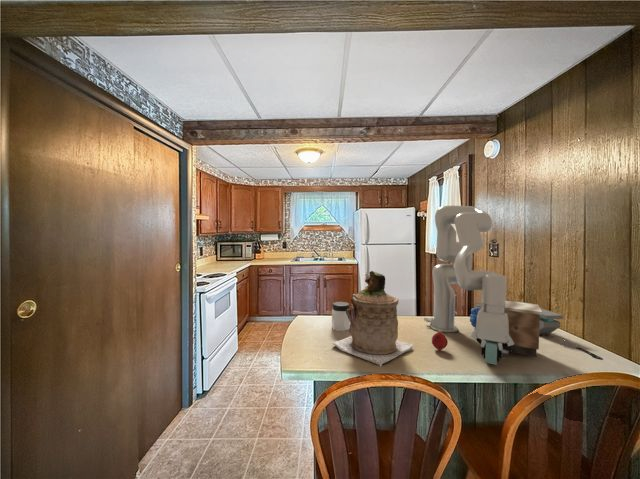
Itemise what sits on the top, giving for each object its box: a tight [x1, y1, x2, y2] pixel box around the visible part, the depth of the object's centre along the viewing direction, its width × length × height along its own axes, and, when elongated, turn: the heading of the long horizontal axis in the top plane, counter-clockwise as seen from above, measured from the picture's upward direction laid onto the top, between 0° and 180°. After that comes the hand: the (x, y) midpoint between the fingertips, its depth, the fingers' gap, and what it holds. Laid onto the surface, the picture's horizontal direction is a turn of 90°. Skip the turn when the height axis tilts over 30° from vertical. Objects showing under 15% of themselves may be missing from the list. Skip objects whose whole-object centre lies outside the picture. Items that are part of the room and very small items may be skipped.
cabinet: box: [497, 300, 542, 357], centre depth 116 cm, size 18×14×19 cm
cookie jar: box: [331, 270, 414, 367], centre depth 118 cm, size 25×25×32 cm
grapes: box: [469, 306, 481, 331], centre depth 137 cm, size 12×7×12 cm, turn 4°
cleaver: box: [561, 338, 604, 361], centre depth 125 cm, size 29×1×10 cm
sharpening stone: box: [520, 301, 564, 335], centre depth 142 cm, size 25×8×11 cm, turn 4°
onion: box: [431, 331, 448, 351], centre depth 117 cm, size 6×6×8 cm
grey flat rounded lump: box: [497, 345, 510, 356], centre depth 115 cm, size 5×5×2 cm
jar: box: [331, 301, 351, 332], centre depth 141 cm, size 9×8×12 cm
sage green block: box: [484, 340, 498, 366], centre depth 111 cm, size 4×18×7 cm, turn 148°
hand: (491, 358), depth 106 cm, fingers closed on sage green block, 3 cm apart
